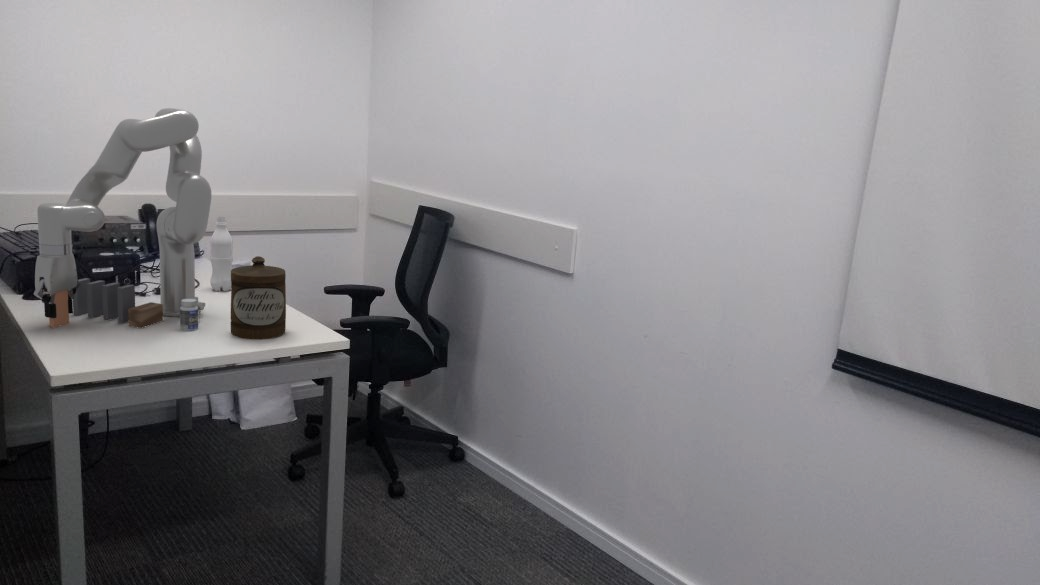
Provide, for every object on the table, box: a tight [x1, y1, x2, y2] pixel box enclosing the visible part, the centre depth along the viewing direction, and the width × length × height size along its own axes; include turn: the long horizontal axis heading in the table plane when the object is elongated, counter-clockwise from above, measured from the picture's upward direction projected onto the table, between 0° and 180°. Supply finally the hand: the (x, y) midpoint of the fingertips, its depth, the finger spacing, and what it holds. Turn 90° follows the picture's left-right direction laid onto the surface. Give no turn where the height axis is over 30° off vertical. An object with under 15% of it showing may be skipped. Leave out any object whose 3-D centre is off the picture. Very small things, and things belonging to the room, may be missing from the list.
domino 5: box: [117, 284, 136, 324], centre depth 220 cm, size 2×5×10 cm, turn 167°
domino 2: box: [72, 277, 91, 317], centre depth 224 cm, size 2×5×10 cm, turn 167°
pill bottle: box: [179, 299, 199, 332], centre depth 217 cm, size 5×5×8 cm
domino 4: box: [102, 282, 121, 322], centre depth 221 cm, size 2×5×10 cm, turn 167°
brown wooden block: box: [128, 302, 164, 329], centre depth 220 cm, size 4×9×5 cm, turn 167°
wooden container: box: [230, 255, 287, 341], centre depth 218 cm, size 15×15×22 cm
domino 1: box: [48, 290, 70, 328], centre depth 211 cm, size 2×5×10 cm, turn 167°
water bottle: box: [209, 216, 234, 292], centre depth 263 cm, size 7×7×25 cm
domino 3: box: [87, 279, 106, 319], centre depth 223 cm, size 2×5×10 cm, turn 167°
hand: (59, 314), depth 212 cm, fingers closed on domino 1, 4 cm apart
